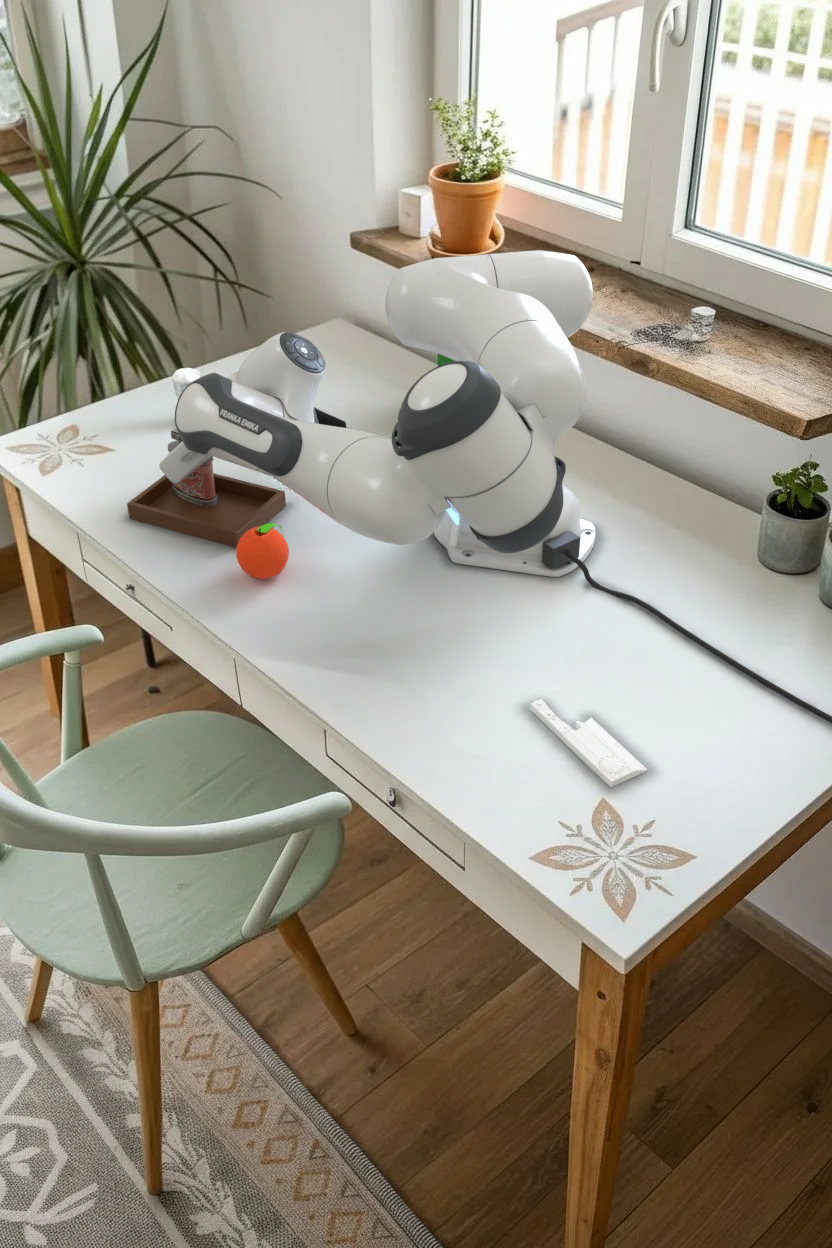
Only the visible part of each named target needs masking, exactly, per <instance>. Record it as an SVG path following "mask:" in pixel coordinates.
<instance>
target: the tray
mask: <svg viewBox="0 0 832 1248" xmlns="http://www.w3.org/2000/svg"><path fill="white" fill-rule="evenodd" d="M213 475H214V485H215V494H216V495H217V503H216V504H215V505H212V506H201V505H198V504H194V503H192V502H189V501H186V500H184V499H183V498H181V497H179V496H178V495H176V494H175V493H174V492H173V485H174V483H172V482H171V481H170V480H169V479H168V478H167V477H166V476H165V475H164V474H163V476H161V477H160V478H158V479H157V480H156V481H155V482H153V483H152V484H150V486H148V487H146V489H144V490H143V491H142V492H140V493H138V494H137V495H136V496H134V497H133V498H132V499H131V500H130V501H128V502H127V503H126V507H127V512H128V513H127V514H128V518H129V520H134V521H137V522H140V523H144V524H148V525H151V526H154V527H158V528H162V529H165V530H168V531H169V530H170V531H172V532H177V533H180V534H184V535H186V536H191V537H195V538H198V539H201V540H205V541H208V542H213V543H216V544H218V545H219V544H220V545H223V546H227V547H231V548H234V549H236V547H237V544H238V541H239V539H240V538H241V537H242V535H243V534H244V533H245V532H246V531H248V530H250V529H252V528H254V527H258V526H262V525H264V524H268V523H270V521H271V520H272V519H274V518H275V517H276V516H277V515H278V514H279V513H280V512H281V511H282V510H284V509H285V508H286V507H287V502H286V491H285V490H281V489H277V488H275V487H274V488H273V487H269V486H265V485H262V484H258V483H253V482H249V481H246V480H242V479H239V478H238V479H237V478H234V477H230V476H225V475H222V474H218V473H214V472H213Z"/></svg>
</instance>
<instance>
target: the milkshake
mask: <svg viewBox="0 0 832 1248" xmlns="http://www.w3.org/2000/svg"><path fill="white" fill-rule="evenodd" d="M204 367H205V366H203V368H202V369H201V373H200V371H199V370H198V369H195V368H193V367H192V368H191V367H181V368H178V369H176V370H175V371H174V372H173V373H172V377H171V380H172V384H173V388H174V392H175V395H176V398H177V399H176V400H178V399H179V397H180V395H181V393H182V392H183V390H184V389H185V388H186V386H187V385H189V384H190V383H191V382H193V381H195V380H196V379H198V378H200V377H202V373H203V370H204Z"/></svg>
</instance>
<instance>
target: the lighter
mask: <svg viewBox="0 0 832 1248" xmlns="http://www.w3.org/2000/svg"><path fill="white" fill-rule="evenodd" d="M170 437H171V439H172V440H173V441H170V442H169V443H168V444H167V452H168V453H170V452H171V451H172V450H173V449H175V448H176V447H177V446H178V445H179V444H180V443H181V442H182V440H181V438H180V436H179V434H178V431H177V428H176V427H175V428H172V429H171V431H170ZM213 461H214V457H212V458H210V459H209V460H208V461H206V462H205V463H204V464H202V465H201V466H200V467H199V468H197V469H196V470H195V471H193V472H192V473H191V474H190V475H188V476H187V477H186V478H184V479H183V480H182V481H180V482H179V483H177V484H174V485H173V492H174V493H175V494H176V495H178V496H179V497H181V498H183V499H184V500H186V501H189V502H192V503H194V504H198V505H201V506H212V505H215V504H216V503H217V495H216V494H215V485H214V475H213V473H214V467H213Z"/></svg>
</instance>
